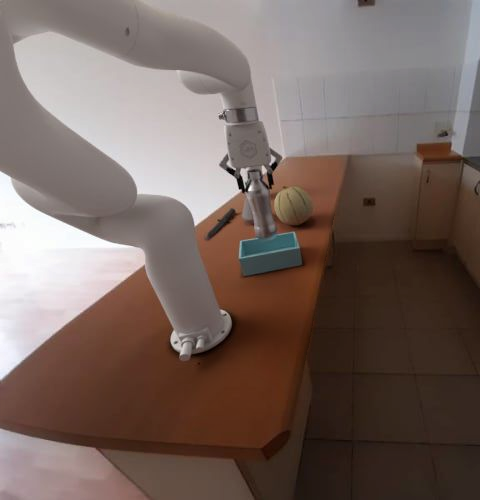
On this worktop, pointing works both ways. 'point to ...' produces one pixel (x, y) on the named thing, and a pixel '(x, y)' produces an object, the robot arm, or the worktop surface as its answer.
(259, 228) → the silver metal bottle
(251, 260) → the bin
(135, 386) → the worktop surface
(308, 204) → the cantaloupe
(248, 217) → the coffee pot
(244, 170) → the milk carton
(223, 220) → the knife
